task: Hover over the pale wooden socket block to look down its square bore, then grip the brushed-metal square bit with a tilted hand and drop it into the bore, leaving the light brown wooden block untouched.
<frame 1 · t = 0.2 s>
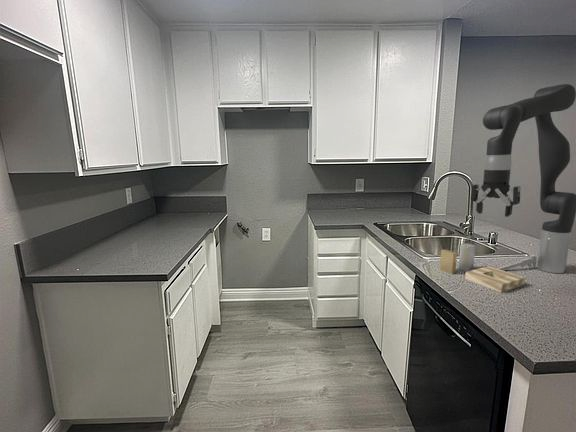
hand: (493, 214, 108), 28 cm above the worktop, tool pointing down, fingers open, 8 cm apart
square bit: (465, 269, 134), on the worktop
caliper: (514, 270, 132), on the worktop
socket block: (493, 281, 120), on the worktop
light brown wooden block: (447, 271, 132), on the worktop
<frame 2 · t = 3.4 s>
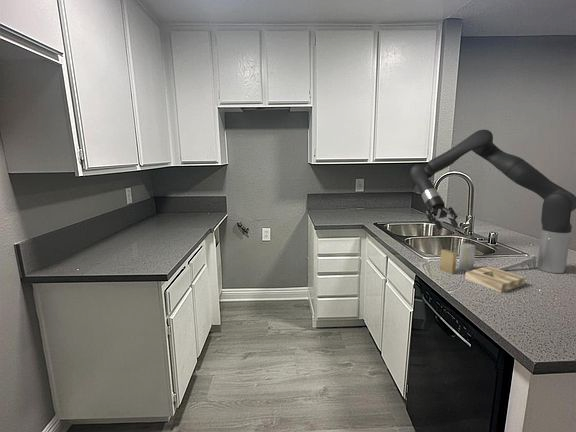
hand: (448, 228, 141), 16 cm above the worktop, tool tilted 45°, fingers open, 8 cm apart
nothing on the worktop moved.
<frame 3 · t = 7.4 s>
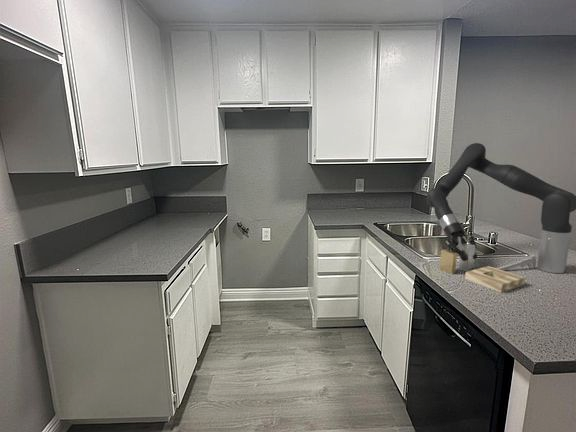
hand: (470, 259, 131), 5 cm above the worktop, tool tilted 45°, fingers closed on square bit, 4 cm apart
square bit: (465, 269, 134), on the worktop, touching gripper
everything else where it was.
when the fingers open (7 cm above the worktop, at t = 12.8 s): square bit drops 2 cm, resting in socket block.
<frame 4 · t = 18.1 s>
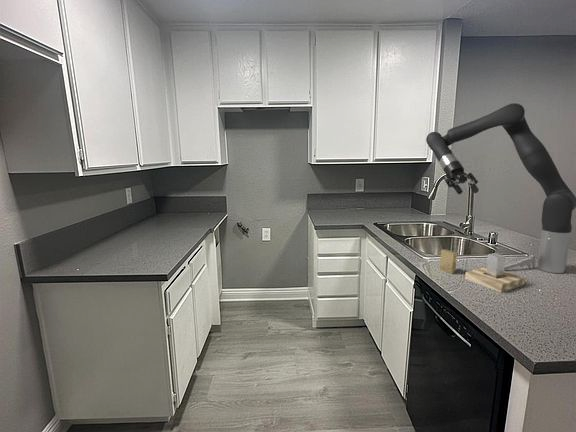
hand: (468, 192, 135), 33 cm above the worktop, tool tilted 45°, fingers open, 8 cm apart
square bit: (493, 281, 120), resting in socket block
everything else where it was.
at the end: square bit 0.1 cm off-centre on the socket block, point 0.0 cm above the socket block's base; square bit tilted 0°; the gripper is holding nothing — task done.
